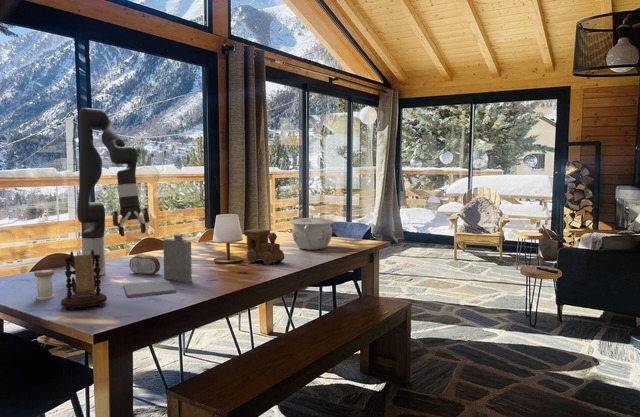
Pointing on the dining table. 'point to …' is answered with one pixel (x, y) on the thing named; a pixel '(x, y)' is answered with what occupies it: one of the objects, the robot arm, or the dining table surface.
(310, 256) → the dining table surface
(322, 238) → the chamber pot
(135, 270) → the tin
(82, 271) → the scroll
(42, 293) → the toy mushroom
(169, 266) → the hip flask
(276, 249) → the wooden toy train
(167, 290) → the mat
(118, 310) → the dining table surface
